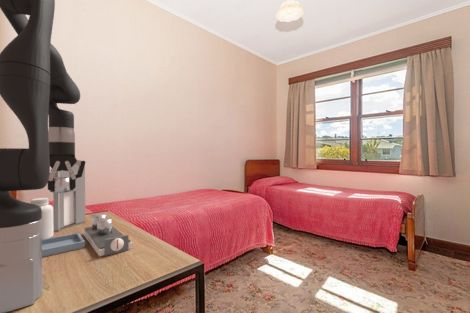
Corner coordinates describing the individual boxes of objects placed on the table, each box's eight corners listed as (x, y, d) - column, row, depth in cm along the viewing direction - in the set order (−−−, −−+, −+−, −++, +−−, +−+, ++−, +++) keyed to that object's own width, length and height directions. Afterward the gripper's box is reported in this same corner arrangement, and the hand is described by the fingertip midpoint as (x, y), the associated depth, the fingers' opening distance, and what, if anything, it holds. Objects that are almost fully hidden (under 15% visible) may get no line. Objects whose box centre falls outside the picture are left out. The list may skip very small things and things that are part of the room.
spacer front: (71, 192, 82) (71, 177, 82) (53, 193, 79) (53, 178, 79) (69, 190, 86) (69, 176, 86) (52, 191, 82) (52, 177, 82)
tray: (85, 247, 82) (85, 241, 82) (39, 257, 74) (39, 250, 74) (79, 238, 91) (79, 232, 91) (38, 246, 83) (38, 240, 83)
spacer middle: (114, 233, 89) (113, 219, 89) (98, 236, 86) (98, 222, 86) (110, 230, 93) (110, 217, 93) (95, 232, 90) (95, 219, 90)
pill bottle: (22, 239, 89) (22, 199, 89) (47, 233, 96) (47, 196, 96) (32, 243, 86) (32, 201, 85) (57, 236, 93) (57, 197, 93)
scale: (133, 249, 80) (133, 234, 80) (100, 257, 74) (100, 241, 74) (110, 228, 102) (110, 217, 102) (82, 233, 96) (82, 221, 96)
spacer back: (107, 227, 96) (107, 215, 96) (93, 230, 93) (93, 217, 93) (104, 224, 100) (104, 212, 100) (90, 227, 96) (90, 214, 96)
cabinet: (65, 219, 117) (64, 162, 117) (88, 217, 121) (87, 161, 121) (53, 232, 98) (53, 163, 98) (81, 229, 102) (81, 163, 102)
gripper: (34, 140, 74) (35, 194, 75) (88, 141, 84) (88, 190, 84) (34, 141, 80) (34, 191, 80) (84, 142, 89) (84, 187, 90)
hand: (62, 190), depth 82 cm, fingers closed on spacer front, 5 cm apart
